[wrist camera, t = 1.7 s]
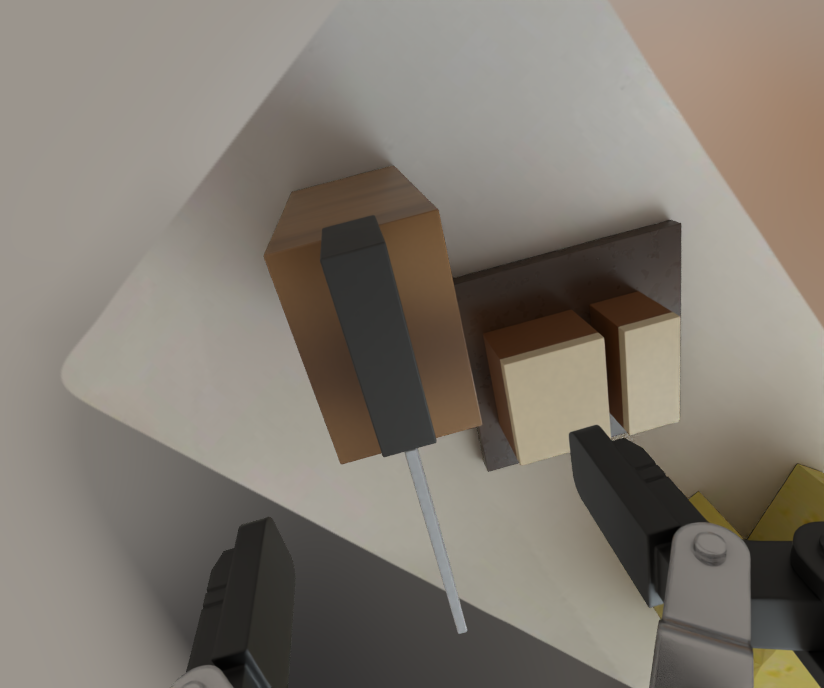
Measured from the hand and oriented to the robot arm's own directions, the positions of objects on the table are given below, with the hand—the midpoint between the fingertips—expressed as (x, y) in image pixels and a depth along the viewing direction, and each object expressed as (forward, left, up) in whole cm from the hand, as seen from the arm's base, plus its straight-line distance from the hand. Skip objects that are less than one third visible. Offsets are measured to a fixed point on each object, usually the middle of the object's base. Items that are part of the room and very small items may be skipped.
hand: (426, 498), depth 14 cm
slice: (+16, +19, -29) cm, 38 cm away
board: (+16, +16, -30) cm, 38 cm away
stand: (+2, 0, -30) cm, 30 cm away
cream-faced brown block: (+16, +12, -29) cm, 35 cm away
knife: (+6, 0, -12) cm, 14 cm away
